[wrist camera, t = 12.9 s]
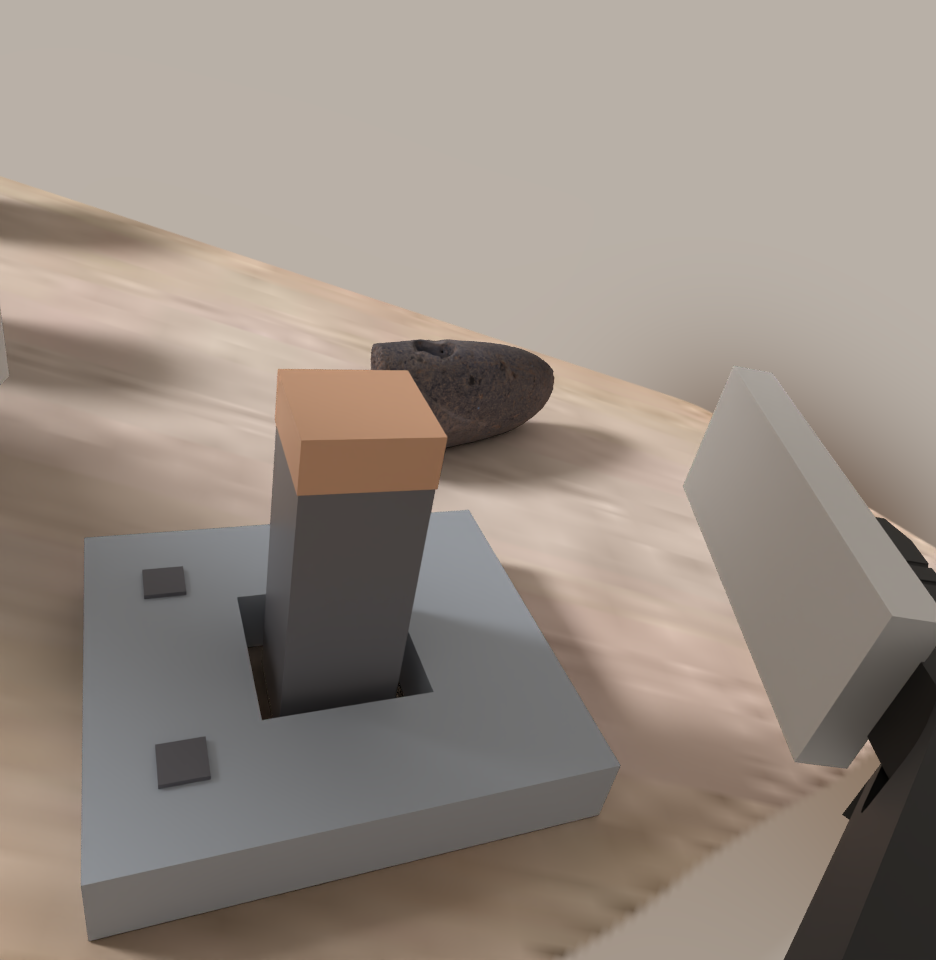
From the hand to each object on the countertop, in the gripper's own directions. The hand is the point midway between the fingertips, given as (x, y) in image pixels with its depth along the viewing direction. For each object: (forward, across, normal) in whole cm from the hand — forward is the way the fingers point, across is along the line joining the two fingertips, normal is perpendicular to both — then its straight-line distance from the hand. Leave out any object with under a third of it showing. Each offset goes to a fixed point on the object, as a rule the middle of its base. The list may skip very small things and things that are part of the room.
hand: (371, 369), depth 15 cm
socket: (+10, 0, -20) cm, 23 cm away
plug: (+10, 0, -20) cm, 23 cm away
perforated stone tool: (+33, +5, -21) cm, 40 cm away
